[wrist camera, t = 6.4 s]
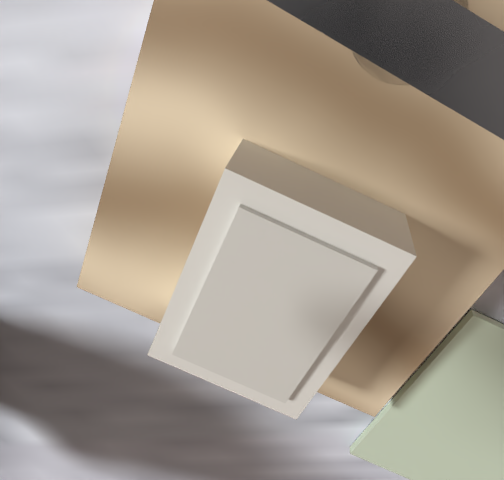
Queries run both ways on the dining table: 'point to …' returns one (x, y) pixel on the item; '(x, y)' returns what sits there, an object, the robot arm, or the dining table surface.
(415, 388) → the mat
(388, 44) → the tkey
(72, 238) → the dining table surface
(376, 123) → the board
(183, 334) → the cover
